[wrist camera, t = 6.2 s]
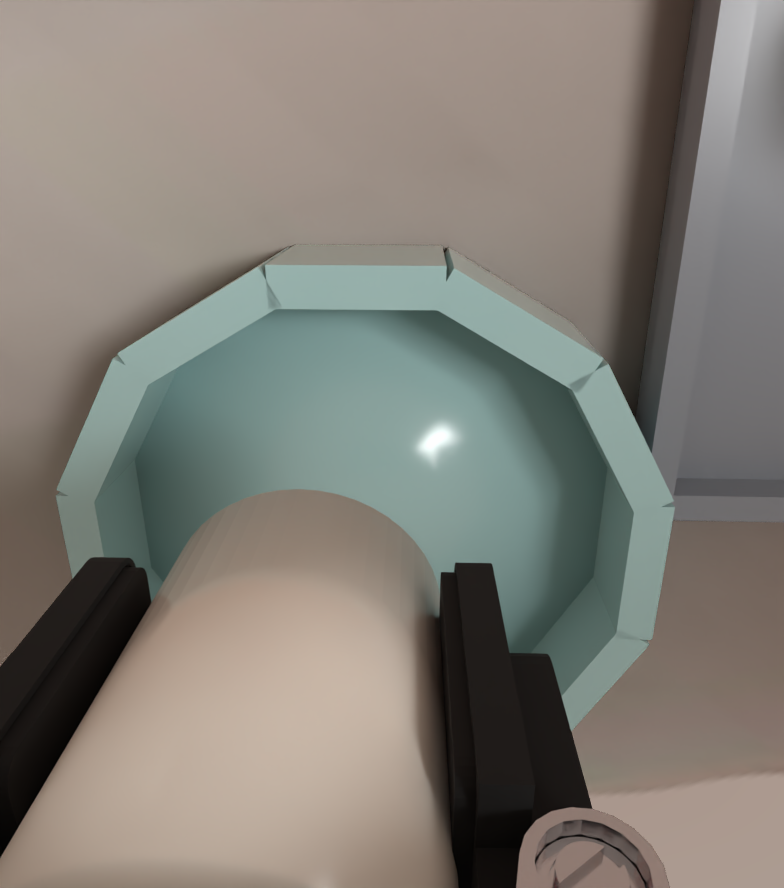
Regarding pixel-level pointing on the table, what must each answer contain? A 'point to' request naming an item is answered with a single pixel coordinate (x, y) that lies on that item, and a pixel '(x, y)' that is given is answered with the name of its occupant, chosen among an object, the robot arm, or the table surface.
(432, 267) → the bowl
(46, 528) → the table surface
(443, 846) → the cream egg
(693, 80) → the parts tray
